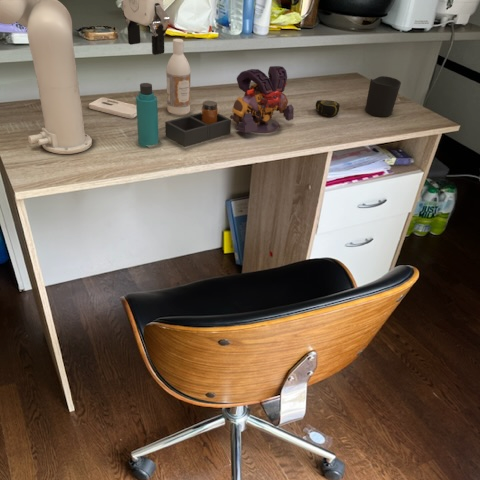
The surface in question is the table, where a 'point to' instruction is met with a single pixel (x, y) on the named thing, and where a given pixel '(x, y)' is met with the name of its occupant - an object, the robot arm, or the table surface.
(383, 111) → the pen holder
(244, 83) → the figurine
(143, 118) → the water bottle
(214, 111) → the spice jar
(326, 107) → the tape measure
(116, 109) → the phone case
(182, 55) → the bath foam
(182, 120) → the cup holder
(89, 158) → the table surface
